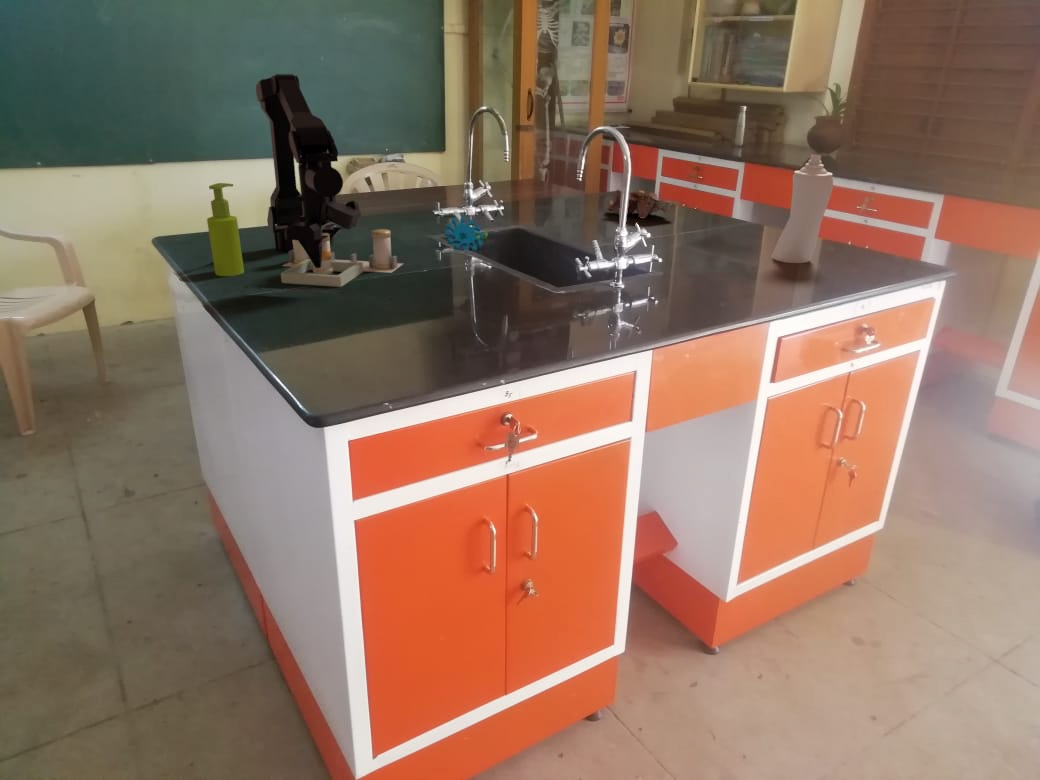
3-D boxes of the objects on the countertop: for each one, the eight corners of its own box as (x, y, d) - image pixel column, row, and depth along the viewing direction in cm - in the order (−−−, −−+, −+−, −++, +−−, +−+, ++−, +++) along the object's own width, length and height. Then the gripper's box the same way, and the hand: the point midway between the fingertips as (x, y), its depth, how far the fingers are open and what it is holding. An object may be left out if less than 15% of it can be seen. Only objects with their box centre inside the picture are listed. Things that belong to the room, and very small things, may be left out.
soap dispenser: (253, 275, 168) (241, 182, 160) (233, 283, 162) (219, 187, 154) (231, 273, 170) (218, 180, 162) (210, 281, 164) (195, 185, 156)
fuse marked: (310, 274, 161) (306, 236, 158) (318, 269, 164) (314, 232, 161) (328, 275, 160) (324, 237, 157) (335, 270, 164) (332, 233, 160)
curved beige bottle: (822, 258, 188) (840, 152, 178) (818, 268, 179) (837, 157, 169) (773, 253, 193) (788, 149, 183) (767, 262, 184) (782, 154, 174)
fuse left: (291, 264, 172) (287, 228, 169) (299, 259, 176) (295, 224, 173) (307, 265, 172) (304, 229, 168) (315, 260, 175) (312, 225, 172)
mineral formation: (685, 219, 226) (688, 186, 226) (641, 207, 218) (645, 172, 218) (637, 230, 245) (640, 199, 246) (596, 219, 238) (599, 188, 238)
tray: (282, 289, 159) (280, 273, 157) (307, 274, 170) (306, 259, 168) (341, 293, 157) (340, 276, 155) (363, 278, 167) (362, 262, 166)
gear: (447, 248, 187) (444, 213, 191) (442, 260, 192) (439, 226, 196) (490, 251, 191) (487, 217, 194) (484, 264, 196) (481, 230, 200)
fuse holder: (282, 272, 171) (280, 254, 170) (298, 263, 178) (296, 246, 177) (391, 279, 167) (390, 261, 165) (403, 270, 174) (402, 252, 172)
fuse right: (371, 268, 169) (369, 232, 166) (378, 264, 173) (375, 228, 169) (388, 269, 168) (386, 233, 165) (395, 265, 172) (393, 229, 169)
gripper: (333, 199, 146) (340, 279, 152) (369, 184, 162) (374, 256, 169) (279, 196, 147) (288, 276, 154) (320, 182, 164) (327, 254, 171)
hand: (322, 265), depth 162 cm, fingers closed on fuse marked, 4 cm apart
